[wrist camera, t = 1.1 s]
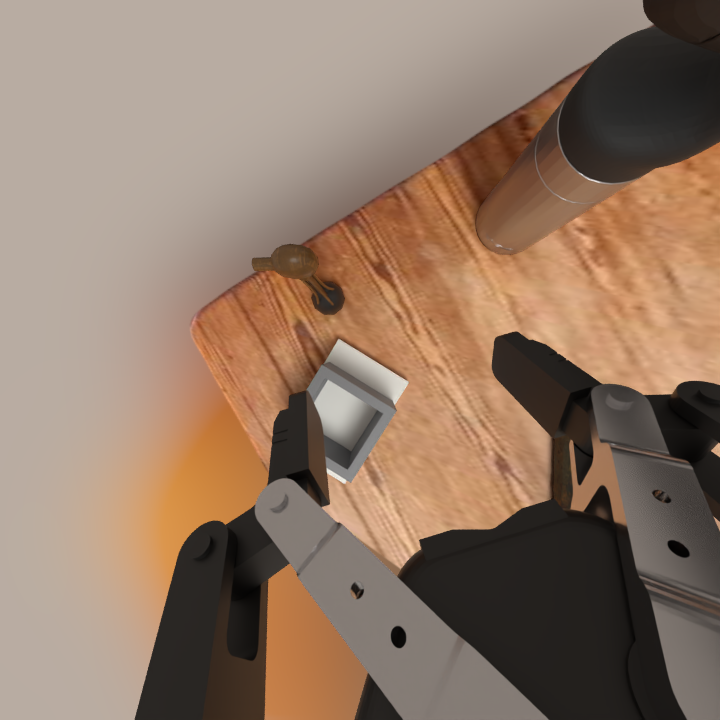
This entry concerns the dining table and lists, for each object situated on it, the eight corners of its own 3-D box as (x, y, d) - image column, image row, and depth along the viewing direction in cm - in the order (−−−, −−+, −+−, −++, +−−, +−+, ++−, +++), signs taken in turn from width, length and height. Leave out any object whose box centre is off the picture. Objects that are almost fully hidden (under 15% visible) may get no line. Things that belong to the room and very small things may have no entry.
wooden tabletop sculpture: (306, 315, 41) (244, 285, 21) (305, 284, 41) (242, 224, 21) (345, 314, 41) (320, 283, 21) (344, 283, 40) (318, 221, 20)
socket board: (339, 339, 41) (332, 337, 33) (407, 381, 41) (415, 388, 33) (279, 438, 42) (260, 458, 34) (345, 478, 42) (339, 507, 34)
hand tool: (572, 517, 41) (597, 539, 36) (545, 517, 41) (567, 538, 37) (576, 394, 40) (603, 400, 35) (549, 393, 40) (572, 400, 36)
